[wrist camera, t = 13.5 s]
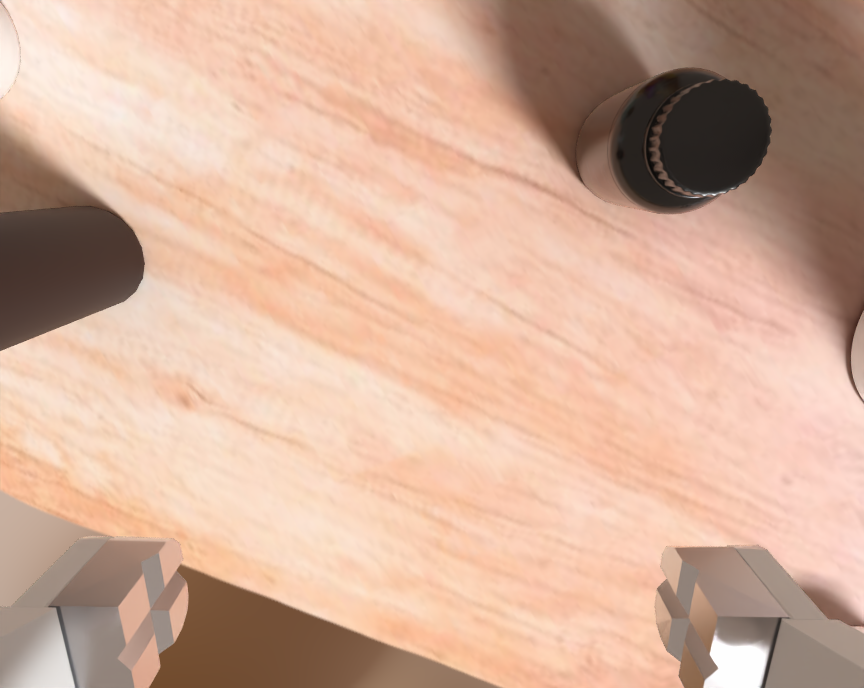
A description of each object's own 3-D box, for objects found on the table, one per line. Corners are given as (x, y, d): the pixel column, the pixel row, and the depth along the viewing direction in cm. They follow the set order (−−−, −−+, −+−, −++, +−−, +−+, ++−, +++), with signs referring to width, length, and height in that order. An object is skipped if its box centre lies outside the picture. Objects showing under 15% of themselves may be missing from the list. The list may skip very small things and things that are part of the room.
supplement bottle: (626, 66, 33) (725, 8, 22) (703, 141, 34) (836, 125, 23) (549, 158, 35) (603, 151, 23) (625, 227, 36) (712, 252, 25)
